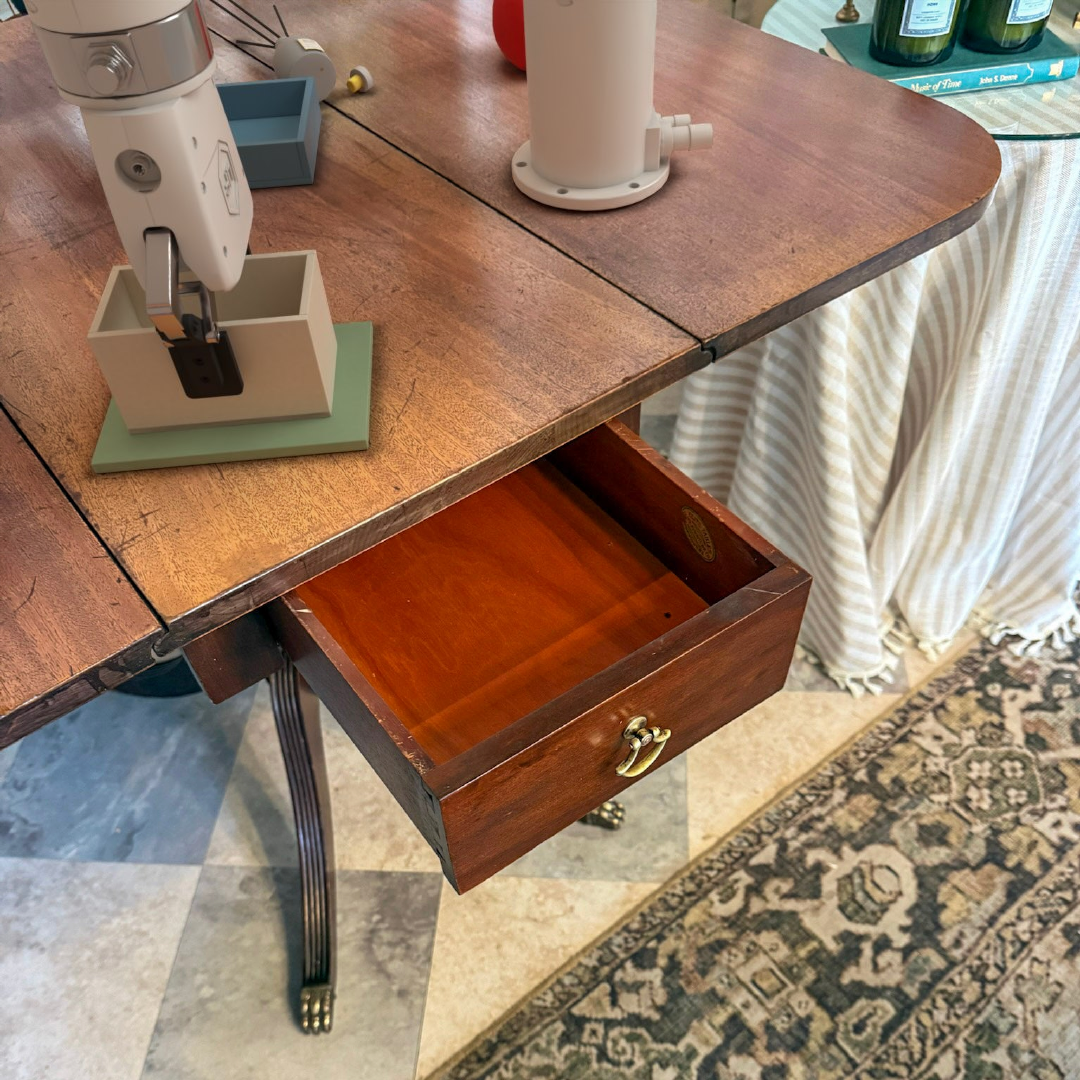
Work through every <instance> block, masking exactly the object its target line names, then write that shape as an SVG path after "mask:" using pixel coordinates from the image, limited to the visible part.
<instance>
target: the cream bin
mask: <svg viewBox="0 0 1080 1080" xmlns="http://www.w3.org/2000/svg"><path fill="white" fill-rule="evenodd" d="M190 281H200V280H199V279H198V277H197V276H196V275H195V274H194V273H193V272H192V271H190V272H179V282H190ZM214 293H215V301H216V309H217V317H218V325H219V331H227V334H228V337H229V340H230V343H231V346H232V349H233V352H234V355H235V358H236V361H237V365H238V368H239V371H240V374H241V377H242V380H243V383H244V388H243V392H242V394H240V395H234V396H223V397H212V398H201V399H191V398H188V397H187V396H186V394H185V392H184V389H183V387H182V384H181V382H180V379H179V376H178V374H177V371H176V369H175V366H174V363H173V361H172V358H171V356H170V353H169V351H168V348H166V347H165V346H164V344H163V342H162V339H161V337H160V335H158V332H156V329H155V324H154V323H153V322H152V321H151V319H150V318H149V316H148V314H147V311H146V292H145V291H144V290H143V289H142V287H141V285H140V283H139V282H138V280H137V277H136V275H135V273H134V271H133V269H132V266H131V264H122V265H121V264H120V265H112V267H111V271H110V272H109V275H108V279H107V280H106V284H105V287H104V289H103V292H102V295H101V297H100V300H99V303H98V306H97V308H96V311H95V313H94V316H93V319H92V321H91V324H90V327H89V329H88V333H87V335H86V340H87V342H88V344H89V346H90V349H91V351H92V354H93V356H94V359H95V361H96V363H97V364H98V367H99V369H100V371H101V373H102V375H103V377H104V380H105V382H106V385H107V386H108V389H109V392H110V393H111V396H112V395H113V398H114V400H115V402H116V404H117V407H118V409H119V411H120V413H121V415H122V418H123V420H124V422H125V424H126V427H127V429H128V431H129V433H130V434H140V433H152V432H163V431H175V430H186V429H198V428H209V427H221V426H232V425H243V424H255V423H266V422H278V421H289V420H301V419H312V418H324V417H331V416H332V404H333V392H334V380H335V368H336V356H337V341H336V337H335V333H334V328H333V324H334V323H333V320H332V316H331V315H332V314H331V310H330V307H329V303H328V297H327V293H326V289H325V285H324V281H323V277H322V272H321V267H320V264H319V258H318V254H317V250H316V249H304V250H293V251H292V250H291V251H279V252H269V253H268V252H267V253H255V254H252V255H245V260H244V264H243V268H242V273H241V276H240V279H239V281H238V283H237V284H236V286H235V287H234V288H233V289H232V290H231V291H227V292H224V291H223V290H218V291H214ZM180 301H181V304H182V306H183V307H184V313H185V314H193V315H195V316H197V317H199V318H200V319H202V316H201V308H200V301H199V295H198V296H186V297H180Z"/></svg>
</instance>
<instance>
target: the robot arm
mask: <svg viewBox="0 0 1080 1080" xmlns="http://www.w3.org/2000/svg"><path fill="white" fill-rule="evenodd" d="M22 2H23V4H24V7H25V9H26V12H27V15H28V17H29V19H30V23H31V26H32V29H33V31H34V34H35V36H36V38H37V41H38V44H39V46H40V48H41V51H42V54H43V56H44V59H45V62H46V64H47V67H48V69H49V72H50V74H51V77H52V79H53V82H54V84H55V87H56V89H57V92H58V94H59V96H60V97H61V99H63V100H64V102H67V103H68V104H70V105H73V106H75V107H78V108H79V111H80V115H81V119H82V122H83V126H84V130H85V135H86V137H87V141H88V144H89V147H90V152H91V155H92V157H93V160H94V164H95V167H96V170H97V174H98V176H99V180H100V183H101V186H102V189H103V193H104V196H105V199H106V201H107V204H108V207H109V210H110V213H111V216H112V219H113V222H114V224H115V227H116V231H117V233H118V236H119V239H120V241H121V244H122V247H123V249H124V251H125V254H126V257H127V259H128V261H129V265H131V266H132V269H133V271H134V273H135V275H136V277H137V280H138V282H139V283H140V285H141V287H142V289H143V290H144V291H145V292H146V311H147V314H148V316H149V318H150V319H151V321H152V322H153V323H154V324H155V329H156V332H158V335H160V337H161V339H162V342H163V344H164V346H165V347H166V348H168V351H169V353H170V356H171V358H172V361H173V363H174V366H175V369H176V371H177V374H178V376H179V379H180V382H181V384H182V387H183V389H184V392H185V394H186V396H187V397H188V398H191V399H201V398H212V397H223V396H234V395H240V394H242V392H243V388H244V383H243V380H242V377H241V374H240V371H239V368H238V365H237V361H236V358H235V355H234V352H233V349H232V346H231V343H230V340H229V337H228V334H227V331H219V325H218V317H217V309H216V301H215V293H214V291H218V290H223V291H224V292H227V291H231V290H232V289H233V288H234V287H235V286H236V284H237V283H238V281H239V279H240V276H241V273H242V268H243V264H244V260H245V255H253V253H252V249H251V246H250V243H249V242H250V241H249V240H250V235H251V229H252V224H253V218H254V202H253V201H254V200H253V196H252V192H251V189H249V186H248V182H247V179H246V176H245V173H244V170H243V167H242V163H241V160H240V157H239V154H238V151H237V148H236V145H235V142H234V138H233V135H232V132H231V129H230V126H229V123H228V120H227V117H226V114H225V111H224V108H223V105H222V102H221V99H220V96H219V94H218V91H217V88H216V85H215V84H216V83H215V80H214V78H213V76H214V75H215V74H216V72H217V68H218V60H217V57H216V54H215V50H214V45H213V42H212V39H211V36H210V31H209V27H208V24H207V20H206V17H205V13H204V9H203V6H202V2H201V0H22ZM523 6H524V27H525V48H526V69H527V71H526V86H527V89H526V90H527V108H528V128H529V139H528V140H526V141H525V142H523V143H522V144H521V145H520V146H519V147H518V148H517V149H516V150H515V153H514V154H513V156H512V159H511V174H512V175H511V176H512V180H513V182H514V183H515V186H516V187H517V188H518V189H519V190H520V191H521V192H522V193H523V194H525V195H526V196H527V197H529V198H531V199H532V200H535V201H537V202H538V203H541V204H543V205H547V206H550V207H553V208H557V209H558V208H559V209H565V210H573V211H585V212H586V211H604V210H611V209H618V208H622V207H626V206H630V205H633V204H635V203H638V202H641V201H643V200H645V199H647V198H649V197H650V196H652V195H654V194H655V193H656V192H657V191H659V190H660V189H661V188H662V187H663V186H664V184H666V182H667V180H668V177H669V175H670V170H671V169H670V166H671V165H670V164H671V158H670V157H671V156H672V155H673V152H676V151H677V152H679V151H688V152H693V151H704V150H705V151H706V150H711V149H712V148H713V142H714V130H713V125H712V123H711V122H705V123H692V121H691V120H692V119H691V118H692V117H691V115H690V113H679V114H673V115H667V116H666V115H665V116H662V115H661V113H660V112H657V111H656V109H655V106H654V87H655V86H654V85H655V64H656V63H655V61H656V40H657V19H658V18H657V17H658V0H523ZM190 271H192V272H193V273H194V274H195V275H196V276H197V277H198V279H199V280H200V281H190V282H179V272H190ZM198 295H199V301H200V308H201V316H202V319H200V318H199V317H197V316H195V315H193V314H185V313H184V307H183V306H182V304H181V301H180V297H186V296H198Z"/></svg>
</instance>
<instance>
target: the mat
mask: <svg viewBox="0 0 1080 1080" xmlns="http://www.w3.org/2000/svg"><path fill="white" fill-rule="evenodd" d="M332 324H333V328H334V333H335V337H336V341H337V356H336V368H335V380H334V392H333V404H332V416H331V417H324V418H312V419H301V420H289V421H278V422H266V423H255V424H243V425H232V426H221V427H209V428H198V429H186V430H175V431H163V432H152V433H140V434H130V433H129V431H128V429H127V427H126V424H125V422H124V420H123V418H122V415H121V413H120V411H119V409H118V407H117V404H116V402H115V400H114V398H113V395H112V394H111V398H110V402H109V404H108V407H107V410H106V415H105V417H104V419H103V420H104V421H103V424H102V426H101V430H100V433H99V436H98V439H97V442H96V445H95V449H94V452H93V455H92V459H91V461H90V466H91V468H92V470H93V472H94V473H95V474H105V473H115V472H116V473H117V472H127V471H129V472H130V471H139V470H140V471H141V470H150V469H161V468H172V467H173V468H174V467H184V466H185V467H186V466H195V465H206V464H217V463H229V462H230V463H231V462H241V461H251V460H253V461H254V460H264V459H274V458H286V457H287V458H288V457H295V456H296V457H297V456H298V457H299V456H308V455H320V454H329V453H330V454H331V453H343V452H354V451H365V450H369V444H370V443H369V441H370V416H371V395H372V392H371V391H372V370H373V369H372V367H373V347H374V346H373V345H374V327H373V322H372V320H364V321H363V320H362V321H354V322H353V321H352V322H341V323H332Z"/></svg>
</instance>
